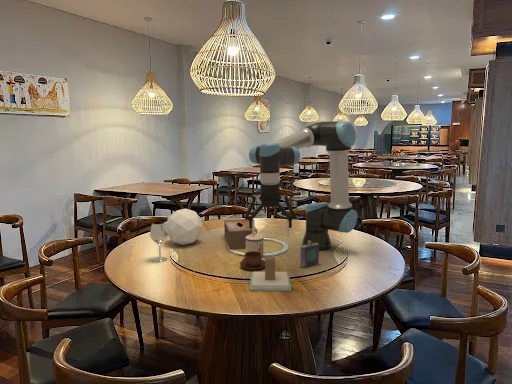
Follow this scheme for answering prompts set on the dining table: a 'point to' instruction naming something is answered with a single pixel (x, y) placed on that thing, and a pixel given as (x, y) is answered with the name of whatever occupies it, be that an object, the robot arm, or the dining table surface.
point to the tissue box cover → (237, 233)
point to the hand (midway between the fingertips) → (270, 236)
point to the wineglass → (159, 237)
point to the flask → (309, 254)
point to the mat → (269, 288)
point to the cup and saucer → (252, 261)
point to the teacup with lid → (254, 243)
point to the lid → (270, 276)
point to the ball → (184, 226)
